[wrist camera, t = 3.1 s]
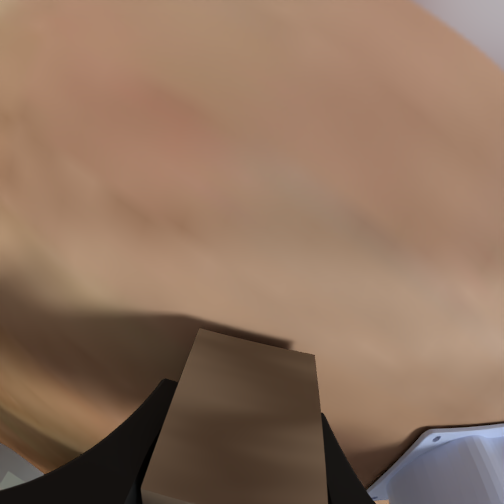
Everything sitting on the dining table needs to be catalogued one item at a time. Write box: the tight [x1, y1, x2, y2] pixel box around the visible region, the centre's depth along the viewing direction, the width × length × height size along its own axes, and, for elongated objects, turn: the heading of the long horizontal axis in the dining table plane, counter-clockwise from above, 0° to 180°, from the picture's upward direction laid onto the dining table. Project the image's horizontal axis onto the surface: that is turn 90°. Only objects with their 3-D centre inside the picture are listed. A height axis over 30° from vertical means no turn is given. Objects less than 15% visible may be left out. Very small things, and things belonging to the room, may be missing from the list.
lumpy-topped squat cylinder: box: [0, 443, 45, 483], centre depth 17 cm, size 10×13×9 cm
